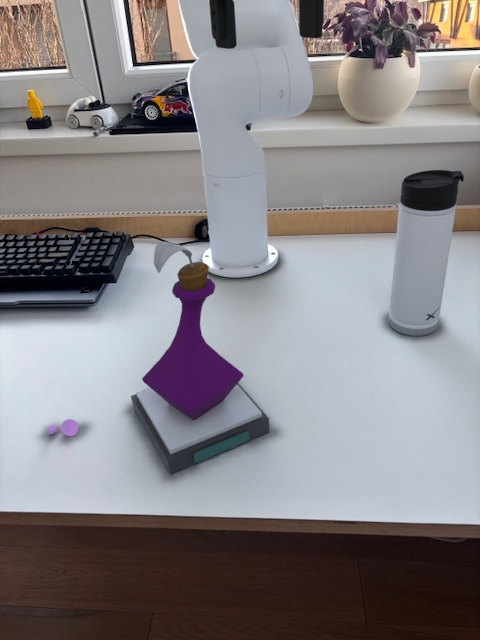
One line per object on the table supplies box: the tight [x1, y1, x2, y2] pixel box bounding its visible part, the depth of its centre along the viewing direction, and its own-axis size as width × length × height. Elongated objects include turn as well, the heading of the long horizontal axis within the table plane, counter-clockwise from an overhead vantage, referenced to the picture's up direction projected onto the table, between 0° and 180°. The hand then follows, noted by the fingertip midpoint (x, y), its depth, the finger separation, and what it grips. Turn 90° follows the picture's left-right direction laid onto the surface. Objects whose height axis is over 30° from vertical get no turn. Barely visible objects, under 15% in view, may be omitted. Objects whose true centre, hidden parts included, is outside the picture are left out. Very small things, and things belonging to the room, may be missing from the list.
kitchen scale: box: [130, 382, 270, 475], centre depth 57 cm, size 11×11×3 cm
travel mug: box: [387, 169, 465, 337], centre depth 66 cm, size 6×7×20 cm
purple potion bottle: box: [141, 241, 244, 420], centre depth 52 cm, size 8×8×18 cm
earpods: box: [46, 418, 79, 437], centre depth 58 cm, size 3×2×2 cm
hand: (269, 42), depth 54 cm, fingers open, 9 cm apart
